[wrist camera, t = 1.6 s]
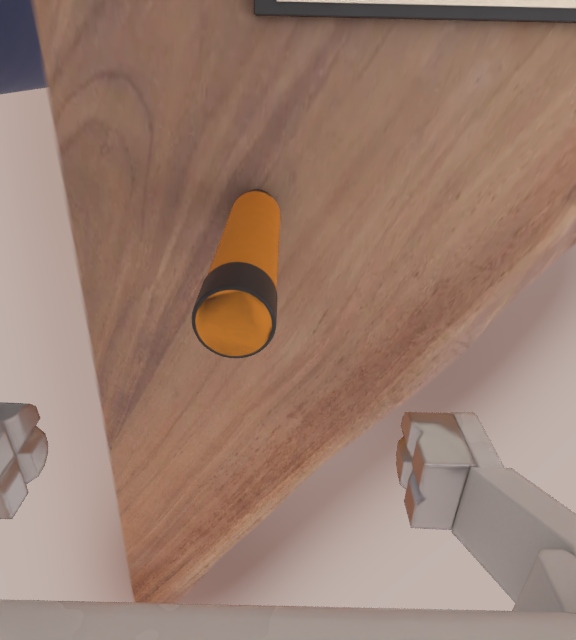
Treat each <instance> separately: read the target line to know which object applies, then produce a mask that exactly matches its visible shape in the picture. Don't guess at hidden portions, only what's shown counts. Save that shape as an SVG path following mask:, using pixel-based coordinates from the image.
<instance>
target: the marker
mask: <svg viewBox="0 0 576 640" xmlns="http://www.w3.org/2000/svg"><path fill="white" fill-rule="evenodd" d="M279 235H280V209H279V206H278V204H277V203H276V201H275V200H274V199H273V198H272V197H271V195H270V194H268V193H267V192H265V191H263V190H252V191H249V192H247V193H245V194H243V195H241V196H240V197H239V198H238V199H237V200H236V201H235V203H234V205H233V207H232V210H231V213H230V215H229V218H228V221H227V224H226V226H225V229H224V232H223V234H222V237H221V240H220V243H219V245H218V248H217V251H216V254H215V256H214V259H213V262H212V264H211V267H210V270H209V273H208V275H207V277H206V278H205V280H204V282H203V285H202V287H201V290H200V293H199V295H198V298H197V301H196V303H195V306H194V309H193V312H192V326H193V329H194V332H195V334H196V336H197V338H198V339H199V341H200V342H201V343H202V344H203V345H204V346H205V347H206V348H207V349H209V350H210V351H212V352H213V353H215V354H218V355H220V356H224V357H228V358H244V357H248V356H252V355H254V354H256V353H258V352H260V351H261V350H263V349H264V348H265V347H266V346H267V345H268V344H269V343H270V341H271V340H272V338H273V336H274V333H275V330H276V317H277V290H276V289H277V271H278V253H279Z"/></svg>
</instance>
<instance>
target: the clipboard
mask: <svg viewBox="0 0 576 640" xmlns="http://www.w3.org/2000/svg"><path fill="white" fill-rule="evenodd" d="M254 14H255V15H256V16H291V17H336V18H380V19H424V20H468V21H513V22H557V23H576V0H254Z"/></svg>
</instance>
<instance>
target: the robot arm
mask: <svg viewBox="0 0 576 640" xmlns="http://www.w3.org/2000/svg"><path fill="white" fill-rule="evenodd" d="M39 419H40V416H39V414H38V411H37V408H36V406H33V405H31V404H22V403H0V519H12V518H13V517H14V515H15V514H16V512H17V510H18V509H19V507H20V506H21V504H22V502H23V501H24V499H25V497H26V496H27V494H28V489H27V485H26V484H27V483H29V482H30V481H32V480H33V479H35V478H36V477H38V476H39V474H40V472H41V471H42V469H43V467H44V466H45V462H46V458H47V454H48V441H47V438H46V435H45V433H44V432H43V431H42V430H40V429H39V428H38V427H37V426H36V424H37V423H38V421H39ZM401 428H402V432H403V435H404V437H403V438H401V439H400V440H399V442H398V446H397V462H396V465H397V473H398V478H399V482H400V485H401V486H403V487H404V488H405V489H406V494H405V500H404V502H405V506H406V510H407V514H408V518H409V522H410V525H411V528H424V529H443V530H452V533H453V534H454V535H455V536H456V537H457V539H458V540H459V541H460V542H461V543H462V544H463V545H464V546H465V547H466V549H467V550H468V551H469V552H470V553H471V554H472V555H473V556H474V558H476V560H477V561H478V562H479V563H480V564H481V565H482V566H483V568H484V569H485V570H486V571H487V572H488V573H489V574H490V575H491V576H492V578H493V579H494V580H495V581H496V582H497V583H498V584H499V585H500V586H501V587H502V589H503V590H504V591H505V592H506V593H507V594H508V595H509V596H510V598H511V599H512V600H513V601H514V602H515V605H514V608H513V610H512V611H485V610H442V609H440V610H439V609H398V608H352V607H306V606H302V607H301V606H258V605H257V606H256V605H211V604H170V603H127V602H126V603H125V602H84V601H82V602H80V601H39V600H0V640H576V514H575V513H574V512H572V511H571V510H570V509H568V508H567V507H565V506H564V505H562V504H561V503H560V502H558V501H557V500H556V499H554V498H553V497H551V496H550V495H549V494H547V493H546V492H544V491H543V490H542V489H540V488H539V487H537V486H536V485H535V484H533V483H532V482H530V481H529V480H527V479H526V478H525V477H523V476H522V475H520V474H519V473H518V472H516V471H515V470H513V469H512V468H504V466H503V464H502V462H501V460H500V458H499V456H498V454H497V452H496V450H495V448H494V447H493V445H492V443H491V441H490V439H489V437H488V435H487V433H486V431H485V429H484V428H483V426H482V424H481V422H480V420H479V418H478V416H477V415H476V414H475V413H473V412H471V413H470V412H466V413H465V412H461V413H460V412H458V413H457V412H455V413H453V412H451V413H420V412H419V413H417V412H405V414H404V416H403V418H402V423H401Z"/></svg>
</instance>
